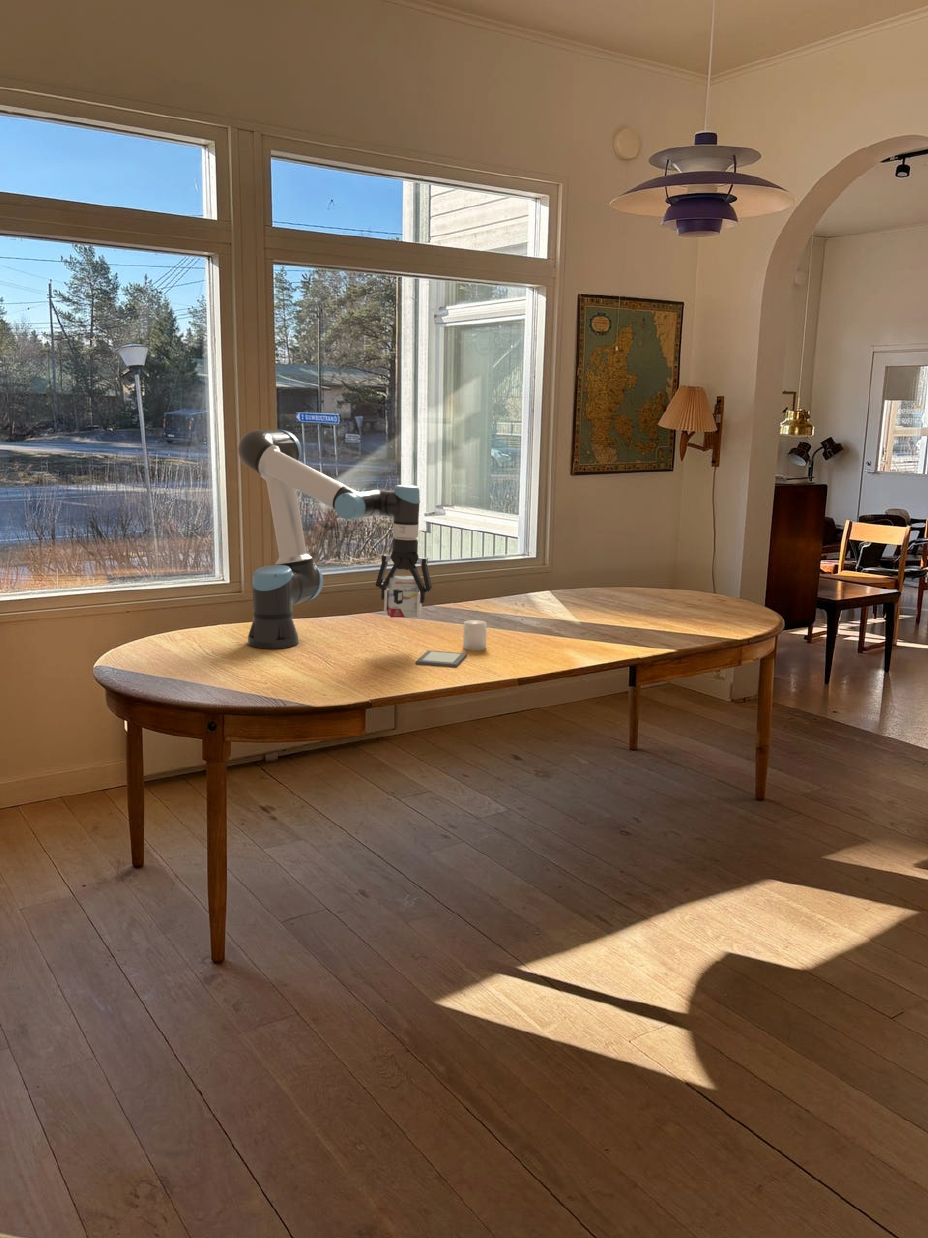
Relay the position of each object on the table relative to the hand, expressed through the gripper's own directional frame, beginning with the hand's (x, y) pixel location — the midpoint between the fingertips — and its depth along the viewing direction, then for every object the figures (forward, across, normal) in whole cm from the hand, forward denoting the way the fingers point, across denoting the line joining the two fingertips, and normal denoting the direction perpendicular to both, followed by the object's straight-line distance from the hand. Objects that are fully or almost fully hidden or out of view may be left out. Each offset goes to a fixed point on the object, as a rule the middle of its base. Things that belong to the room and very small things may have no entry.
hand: (402, 612), depth 303 cm
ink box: (+1, 0, 0) cm, 1 cm away
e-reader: (+11, +15, -9) cm, 21 cm away
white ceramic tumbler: (+11, +21, +9) cm, 25 cm away
